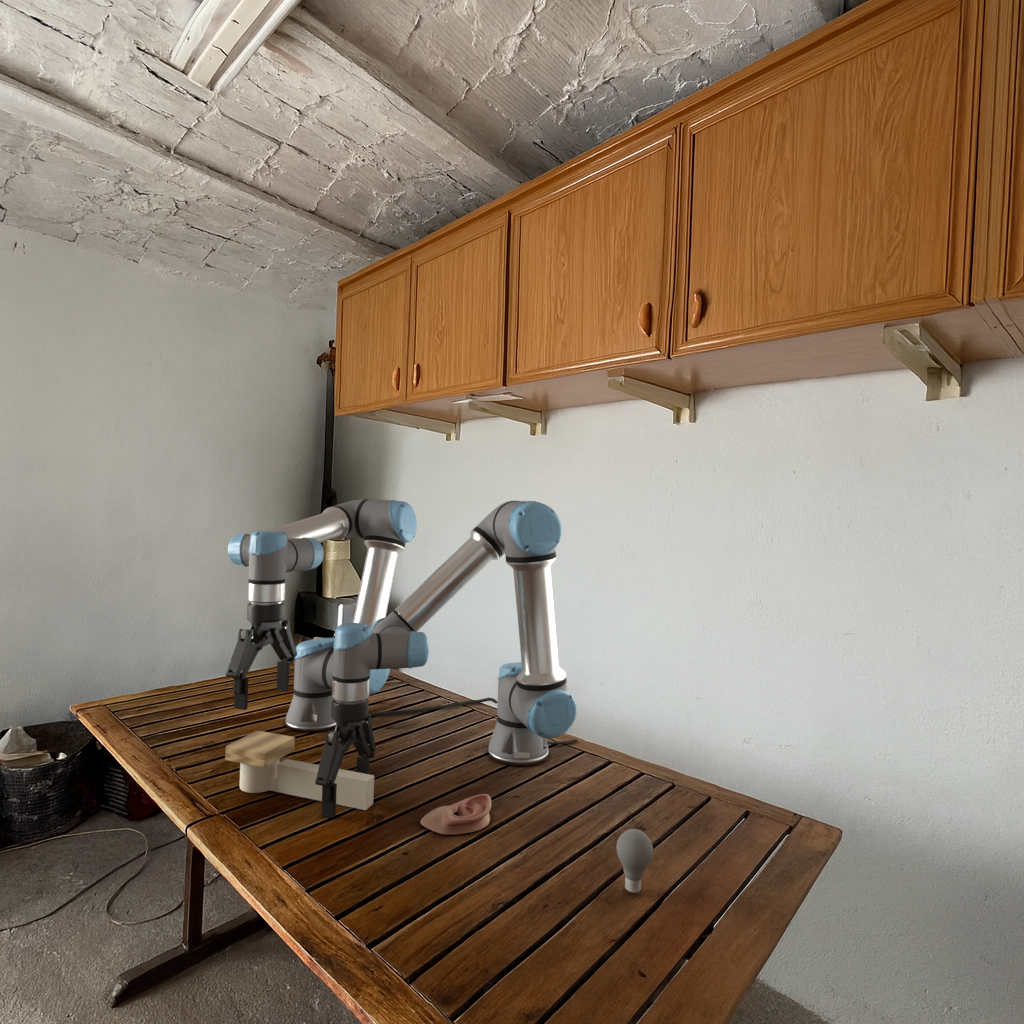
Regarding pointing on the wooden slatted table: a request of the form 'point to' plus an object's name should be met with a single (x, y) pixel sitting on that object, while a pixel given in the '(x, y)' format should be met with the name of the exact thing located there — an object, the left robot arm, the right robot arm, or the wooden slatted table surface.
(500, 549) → the right robot arm
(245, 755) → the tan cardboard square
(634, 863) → the light bulb
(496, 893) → the wooden slatted table surface
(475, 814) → the anatomical model
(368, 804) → the toy wooden mallet
